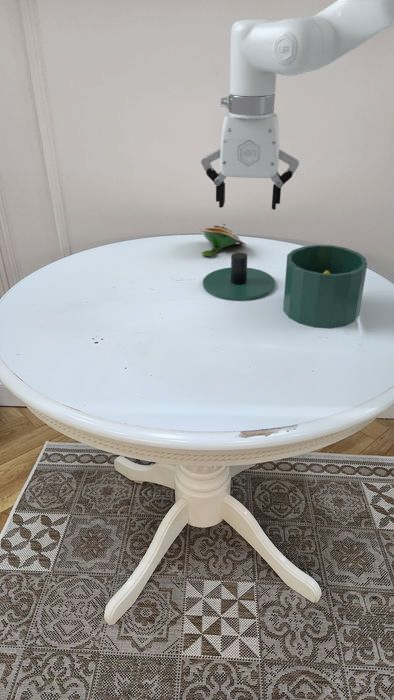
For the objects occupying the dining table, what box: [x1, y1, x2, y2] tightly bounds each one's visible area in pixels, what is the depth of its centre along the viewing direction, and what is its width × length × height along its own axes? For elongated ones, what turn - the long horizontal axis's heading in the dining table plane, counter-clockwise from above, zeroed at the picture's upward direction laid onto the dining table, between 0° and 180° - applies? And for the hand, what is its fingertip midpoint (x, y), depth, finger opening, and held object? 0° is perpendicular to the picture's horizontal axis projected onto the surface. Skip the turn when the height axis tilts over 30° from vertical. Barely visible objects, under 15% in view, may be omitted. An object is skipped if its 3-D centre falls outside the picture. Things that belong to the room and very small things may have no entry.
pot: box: [282, 244, 368, 329], centre depth 96 cm, size 14×14×10 cm
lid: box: [202, 252, 276, 302], centre depth 107 cm, size 15×15×7 cm
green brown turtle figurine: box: [193, 223, 247, 258], centre depth 123 cm, size 15×13×8 cm
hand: (247, 206), depth 99 cm, fingers open, 9 cm apart
